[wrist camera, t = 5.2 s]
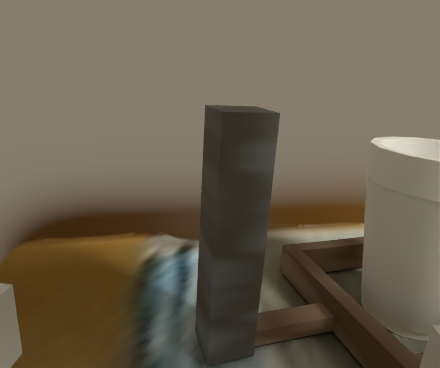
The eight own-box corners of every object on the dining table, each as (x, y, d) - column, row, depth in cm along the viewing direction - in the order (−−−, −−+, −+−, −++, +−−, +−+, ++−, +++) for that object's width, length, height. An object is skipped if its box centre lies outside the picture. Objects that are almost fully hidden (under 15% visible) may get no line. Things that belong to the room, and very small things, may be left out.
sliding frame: (404, 253, 36) (441, 106, 31) (575, 360, 23) (681, 135, 18) (178, 283, 29) (183, 96, 24) (241, 464, 16) (277, 133, 11)
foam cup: (481, 382, 21) (556, 179, 17) (328, 322, 26) (360, 149, 22) (469, 302, 29) (519, 149, 25) (354, 266, 33) (381, 132, 29)
